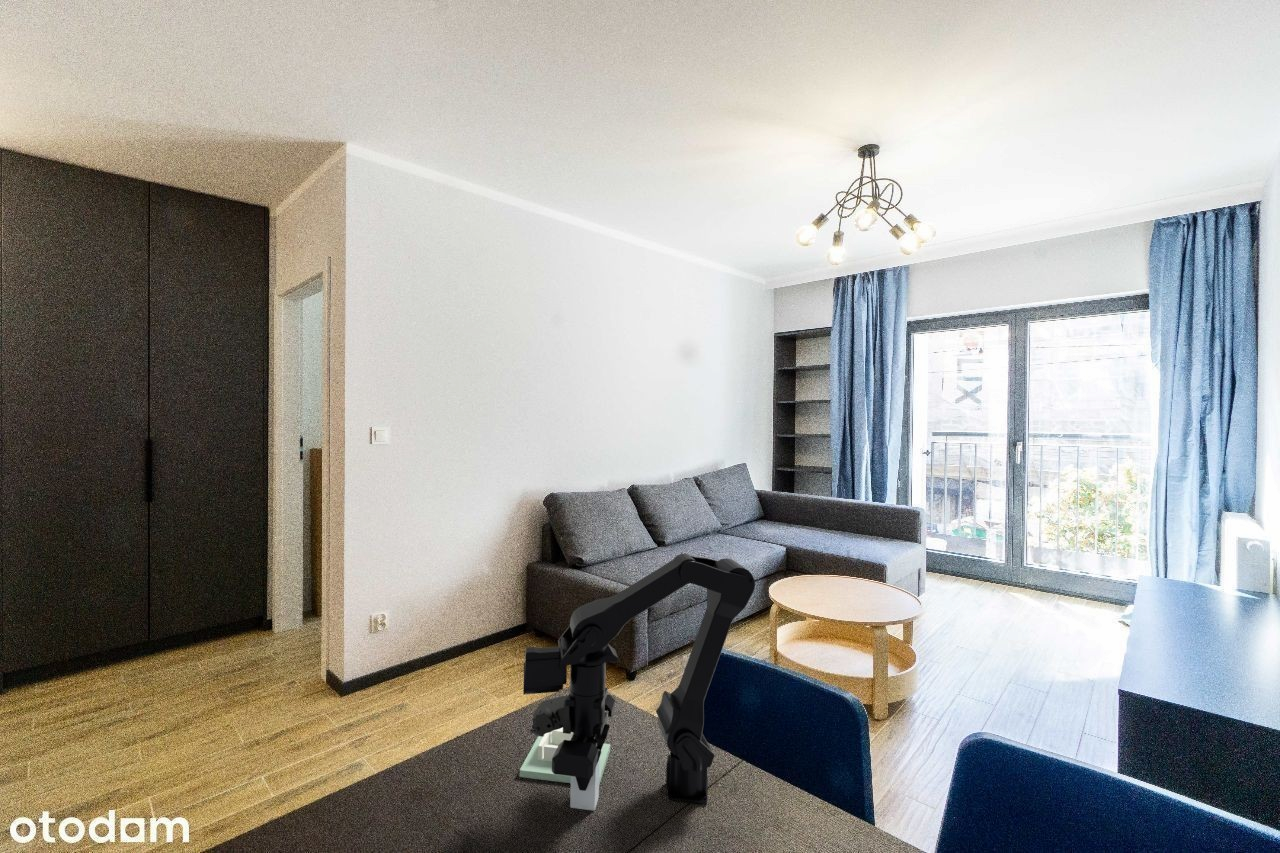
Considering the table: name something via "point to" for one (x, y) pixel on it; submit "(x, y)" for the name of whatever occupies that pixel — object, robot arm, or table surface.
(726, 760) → the table surface
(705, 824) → the table surface
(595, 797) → the plug
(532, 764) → the board
